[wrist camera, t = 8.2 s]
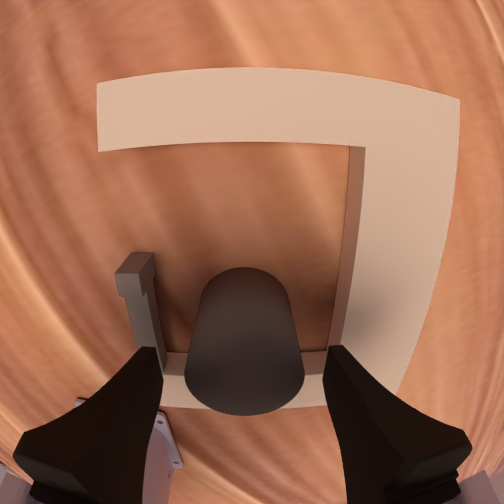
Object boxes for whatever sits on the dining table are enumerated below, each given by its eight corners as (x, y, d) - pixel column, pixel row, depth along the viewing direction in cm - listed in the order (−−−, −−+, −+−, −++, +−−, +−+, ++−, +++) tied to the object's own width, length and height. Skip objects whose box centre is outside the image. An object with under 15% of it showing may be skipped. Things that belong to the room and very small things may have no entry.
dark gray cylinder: (294, 270, 16) (316, 337, 11) (282, 343, 18) (293, 416, 12) (200, 263, 15) (181, 329, 10) (200, 338, 17) (187, 411, 12)
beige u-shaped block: (386, 375, 19) (397, 399, 17) (156, 383, 19) (149, 409, 17) (437, 100, 12) (464, 99, 10) (115, 88, 12) (92, 82, 10)
